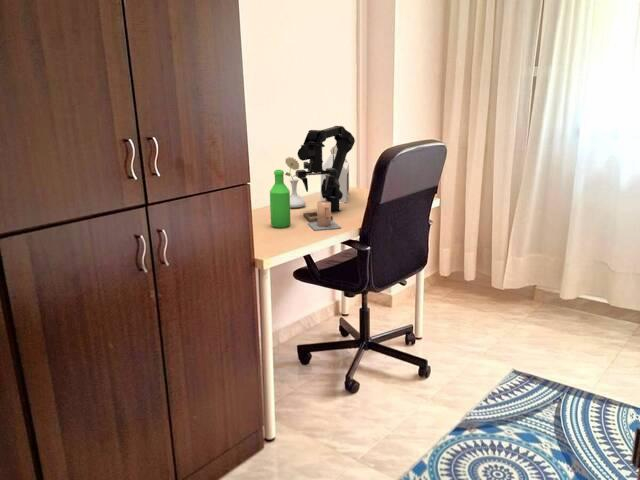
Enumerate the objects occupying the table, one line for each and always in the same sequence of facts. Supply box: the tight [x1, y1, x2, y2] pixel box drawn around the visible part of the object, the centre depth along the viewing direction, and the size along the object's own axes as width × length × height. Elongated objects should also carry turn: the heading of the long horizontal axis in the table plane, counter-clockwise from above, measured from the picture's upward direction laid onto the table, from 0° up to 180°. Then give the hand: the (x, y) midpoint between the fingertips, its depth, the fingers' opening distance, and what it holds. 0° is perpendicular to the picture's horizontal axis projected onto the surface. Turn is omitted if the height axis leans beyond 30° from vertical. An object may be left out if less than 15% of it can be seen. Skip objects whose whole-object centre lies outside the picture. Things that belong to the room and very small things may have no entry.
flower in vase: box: [284, 156, 307, 209], centre depth 284 cm, size 13×11×25 cm
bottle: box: [269, 169, 292, 229], centre depth 248 cm, size 9×9×25 cm
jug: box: [316, 200, 332, 227], centre depth 248 cm, size 10×6×10 cm, turn 17°
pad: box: [307, 220, 342, 232], centre depth 250 cm, size 12×12×1 cm
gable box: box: [320, 144, 350, 202], centre depth 300 cm, size 22×13×28 cm, turn 174°
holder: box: [303, 211, 334, 223], centre depth 263 cm, size 11×11×2 cm
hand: (316, 191), depth 265 cm, fingers open, 9 cm apart
